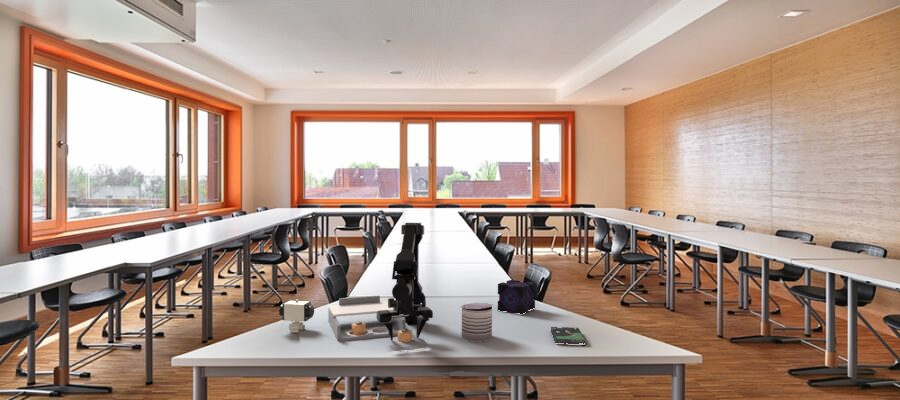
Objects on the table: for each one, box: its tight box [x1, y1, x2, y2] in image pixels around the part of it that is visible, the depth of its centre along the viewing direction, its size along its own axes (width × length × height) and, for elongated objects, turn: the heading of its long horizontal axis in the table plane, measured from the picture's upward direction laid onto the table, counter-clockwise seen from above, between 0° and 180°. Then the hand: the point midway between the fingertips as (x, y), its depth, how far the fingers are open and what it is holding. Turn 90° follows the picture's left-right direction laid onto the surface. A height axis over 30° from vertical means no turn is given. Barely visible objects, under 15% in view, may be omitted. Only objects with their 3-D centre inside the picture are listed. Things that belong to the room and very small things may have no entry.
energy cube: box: [497, 279, 536, 314], centre depth 217 cm, size 12×12×12 cm
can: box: [460, 302, 494, 343], centre depth 178 cm, size 11×11×12 cm
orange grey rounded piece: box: [397, 328, 413, 343], centre depth 171 cm, size 5×5×5 cm
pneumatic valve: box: [278, 298, 315, 334], centre depth 183 cm, size 6×12×12 cm, turn 83°
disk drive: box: [550, 326, 586, 344], centre depth 177 cm, size 10×3×15 cm
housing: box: [327, 307, 406, 342], centre depth 185 cm, size 24×27×6 cm
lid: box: [328, 295, 397, 318], centre depth 190 cm, size 24×14×3 cm, turn 110°
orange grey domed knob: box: [351, 320, 367, 335], centre depth 176 cm, size 5×5×5 cm
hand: (404, 339), depth 171 cm, fingers open, 9 cm apart
